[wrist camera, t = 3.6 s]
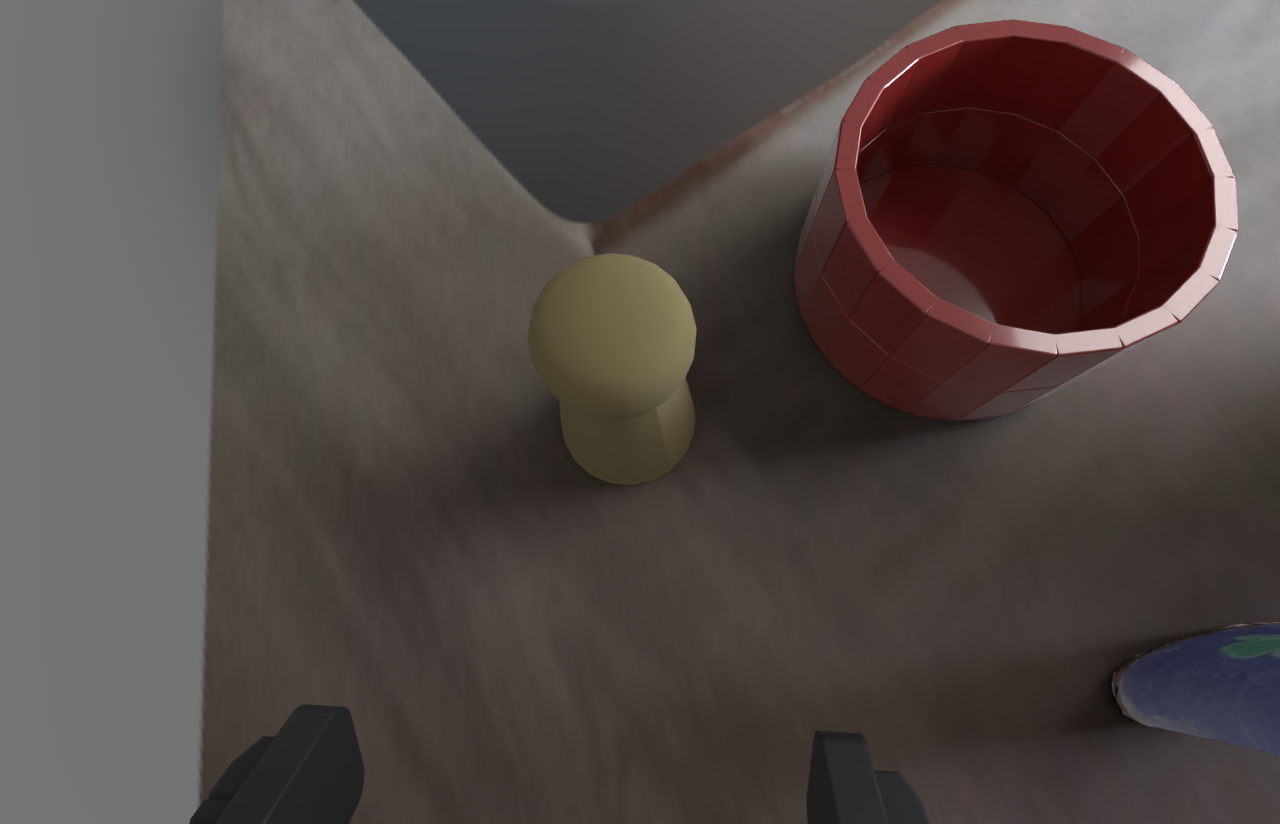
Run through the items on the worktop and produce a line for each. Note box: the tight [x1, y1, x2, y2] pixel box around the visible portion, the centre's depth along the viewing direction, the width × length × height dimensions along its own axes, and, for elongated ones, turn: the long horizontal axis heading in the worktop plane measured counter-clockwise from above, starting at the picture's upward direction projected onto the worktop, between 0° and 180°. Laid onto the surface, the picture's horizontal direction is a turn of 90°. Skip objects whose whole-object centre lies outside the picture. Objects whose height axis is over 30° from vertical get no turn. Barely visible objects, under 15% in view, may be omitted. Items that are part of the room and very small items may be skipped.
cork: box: [528, 253, 697, 485], centre depth 24 cm, size 6×6×11 cm
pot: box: [794, 20, 1239, 421], centre depth 27 cm, size 14×14×8 cm
